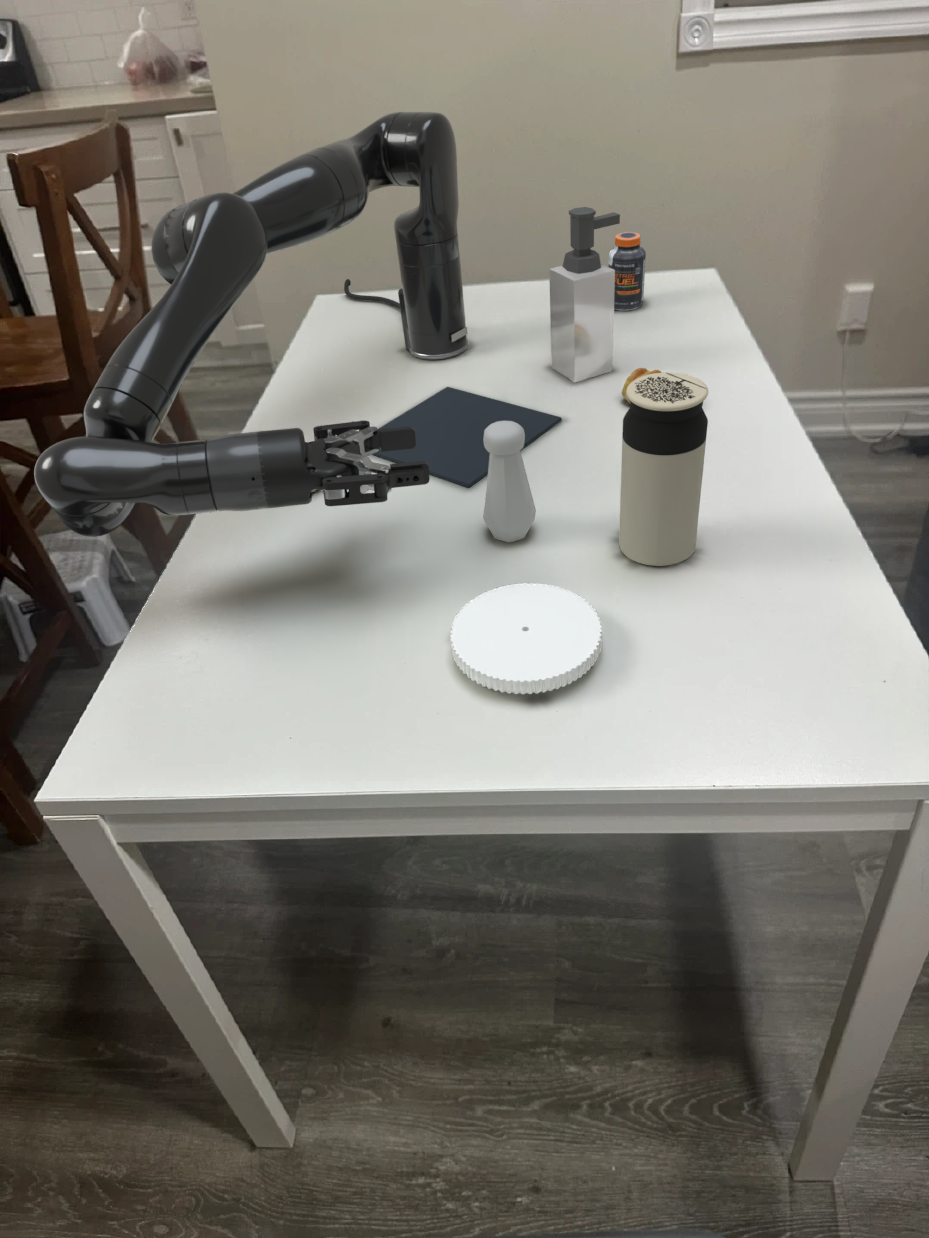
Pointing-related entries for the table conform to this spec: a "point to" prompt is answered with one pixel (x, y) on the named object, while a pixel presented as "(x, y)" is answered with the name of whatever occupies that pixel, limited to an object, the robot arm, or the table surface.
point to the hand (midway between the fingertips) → (421, 454)
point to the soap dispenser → (582, 302)
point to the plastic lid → (526, 638)
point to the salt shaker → (507, 483)
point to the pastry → (634, 376)
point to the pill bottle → (628, 271)
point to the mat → (460, 433)
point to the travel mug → (662, 468)
